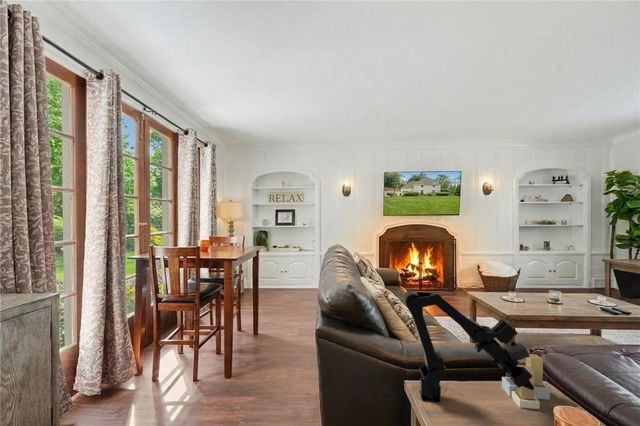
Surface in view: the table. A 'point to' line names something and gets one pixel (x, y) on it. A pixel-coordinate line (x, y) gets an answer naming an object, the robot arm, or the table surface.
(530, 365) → the seated billet
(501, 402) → the table surface
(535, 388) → the two-compartment pale blue organizer
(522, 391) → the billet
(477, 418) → the table surface
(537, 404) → the box
